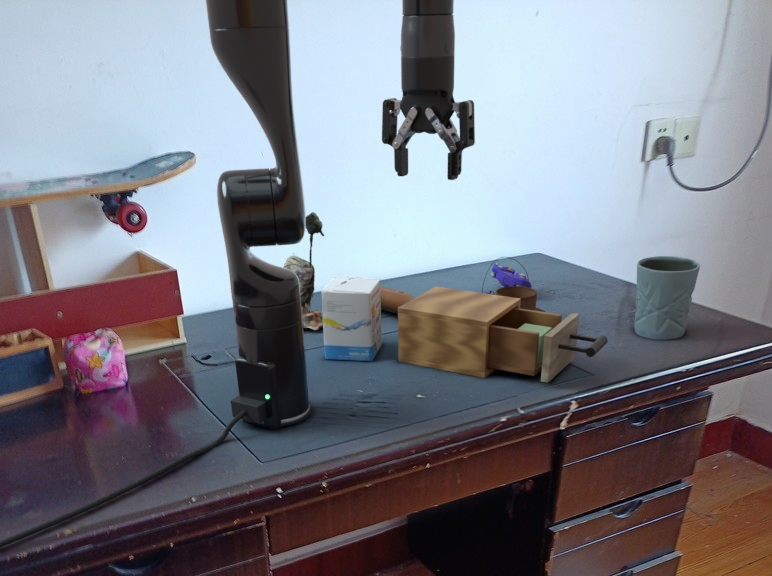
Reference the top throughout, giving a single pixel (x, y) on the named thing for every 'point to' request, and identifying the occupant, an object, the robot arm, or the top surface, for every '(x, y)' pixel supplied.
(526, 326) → the block
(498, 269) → the game controller
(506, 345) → the drawer
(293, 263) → the plant with pod
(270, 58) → the robot arm
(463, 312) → the cabinet
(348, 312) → the ink box
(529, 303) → the cup and saucer
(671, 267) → the drinking glass
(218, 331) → the top surface
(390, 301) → the sunglasses case
